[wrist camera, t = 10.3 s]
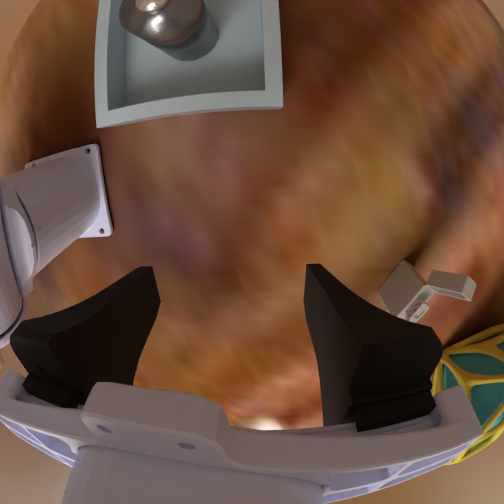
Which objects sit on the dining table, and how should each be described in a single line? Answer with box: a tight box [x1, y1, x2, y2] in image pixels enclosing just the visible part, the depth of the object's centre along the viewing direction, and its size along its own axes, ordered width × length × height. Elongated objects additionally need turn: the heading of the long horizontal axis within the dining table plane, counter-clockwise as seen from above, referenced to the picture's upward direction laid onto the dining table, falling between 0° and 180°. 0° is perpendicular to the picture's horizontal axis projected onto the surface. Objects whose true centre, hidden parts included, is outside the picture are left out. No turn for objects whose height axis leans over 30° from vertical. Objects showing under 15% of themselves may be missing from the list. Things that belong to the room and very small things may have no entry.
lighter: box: [377, 260, 477, 322], centre depth 19 cm, size 7×2×8 cm, turn 150°
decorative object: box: [431, 323, 504, 465], centre depth 23 cm, size 23×23×15 cm
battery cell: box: [119, 0, 219, 61], centre depth 11 cm, size 4×4×8 cm
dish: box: [95, 0, 283, 128], centre depth 13 cm, size 12×12×4 cm
